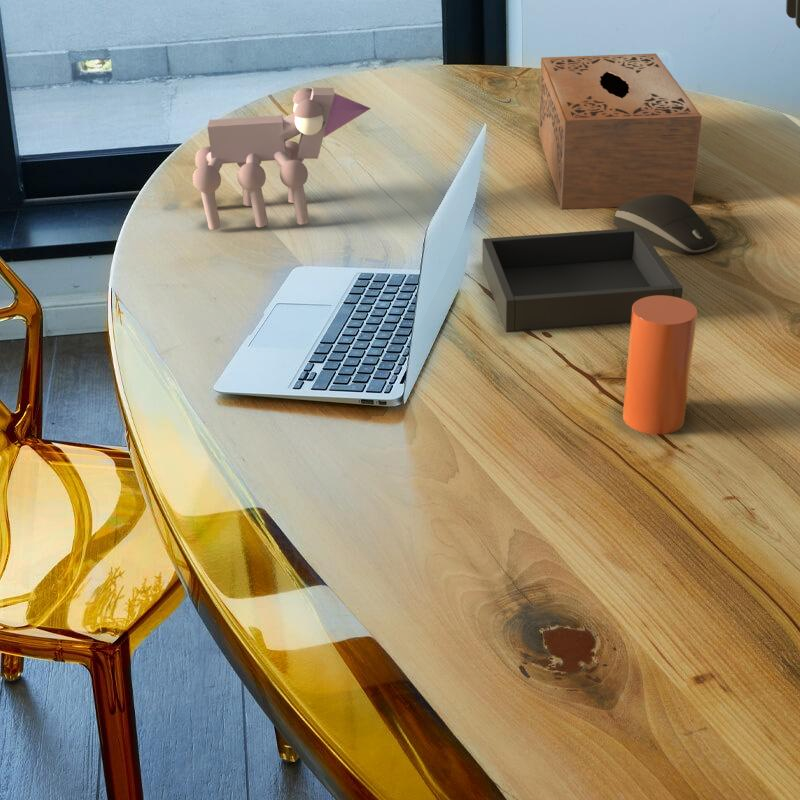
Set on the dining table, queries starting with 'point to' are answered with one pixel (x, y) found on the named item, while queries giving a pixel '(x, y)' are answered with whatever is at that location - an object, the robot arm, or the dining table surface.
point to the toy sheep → (271, 150)
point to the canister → (659, 363)
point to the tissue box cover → (616, 130)
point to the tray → (573, 278)
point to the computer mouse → (667, 224)
